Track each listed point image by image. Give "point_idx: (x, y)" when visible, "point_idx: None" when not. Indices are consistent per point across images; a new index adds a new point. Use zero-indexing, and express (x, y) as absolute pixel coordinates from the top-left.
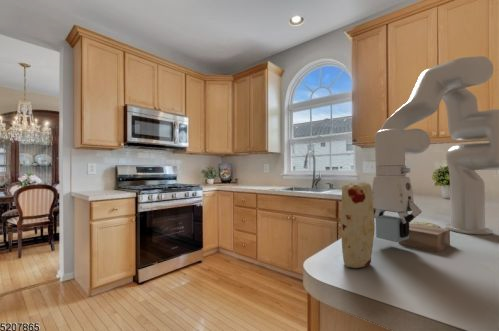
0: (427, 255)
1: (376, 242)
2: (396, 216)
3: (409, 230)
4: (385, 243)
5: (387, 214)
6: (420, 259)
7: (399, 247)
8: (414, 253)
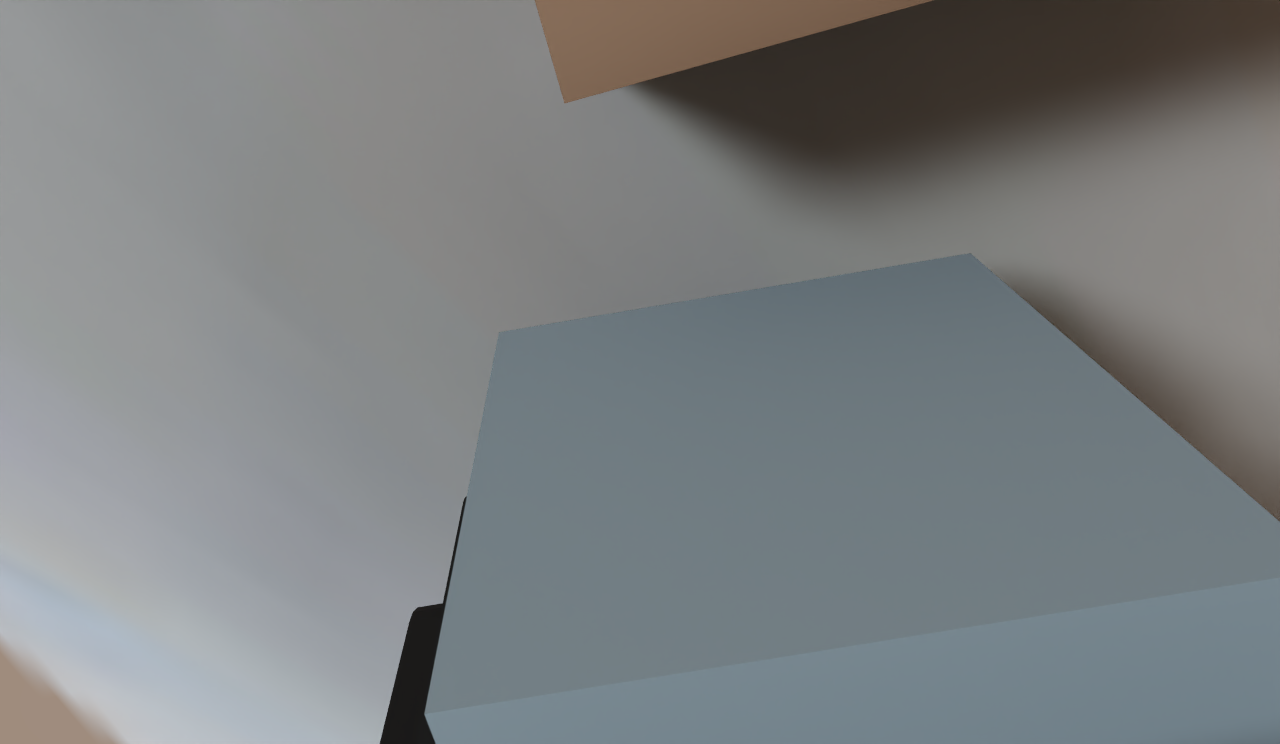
0: (1222, 215)
1: (390, 395)
2: (903, 731)
3: (883, 6)
4: (491, 299)
5: (434, 728)
6: (1216, 454)
7: (761, 268)
8: (1059, 314)
